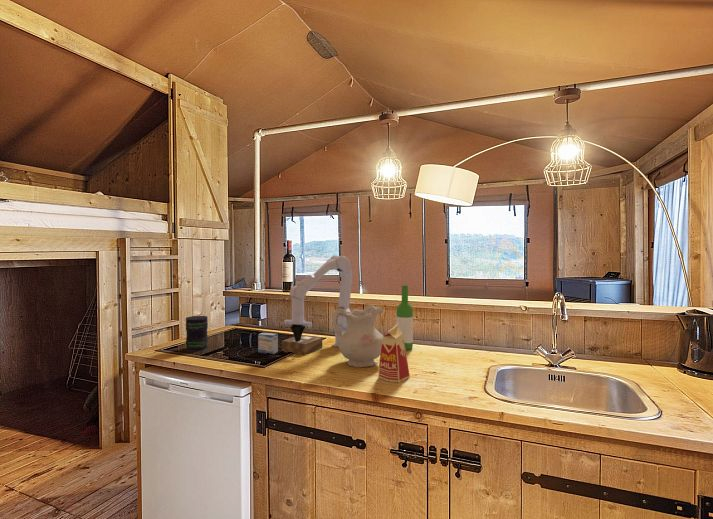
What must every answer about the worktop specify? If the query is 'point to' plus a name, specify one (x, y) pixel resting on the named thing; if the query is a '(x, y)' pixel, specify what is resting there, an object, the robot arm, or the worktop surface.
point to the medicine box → (267, 343)
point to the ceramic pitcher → (359, 336)
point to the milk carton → (393, 357)
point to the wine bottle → (405, 319)
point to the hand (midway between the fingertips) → (297, 341)
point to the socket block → (302, 345)
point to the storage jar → (196, 333)
